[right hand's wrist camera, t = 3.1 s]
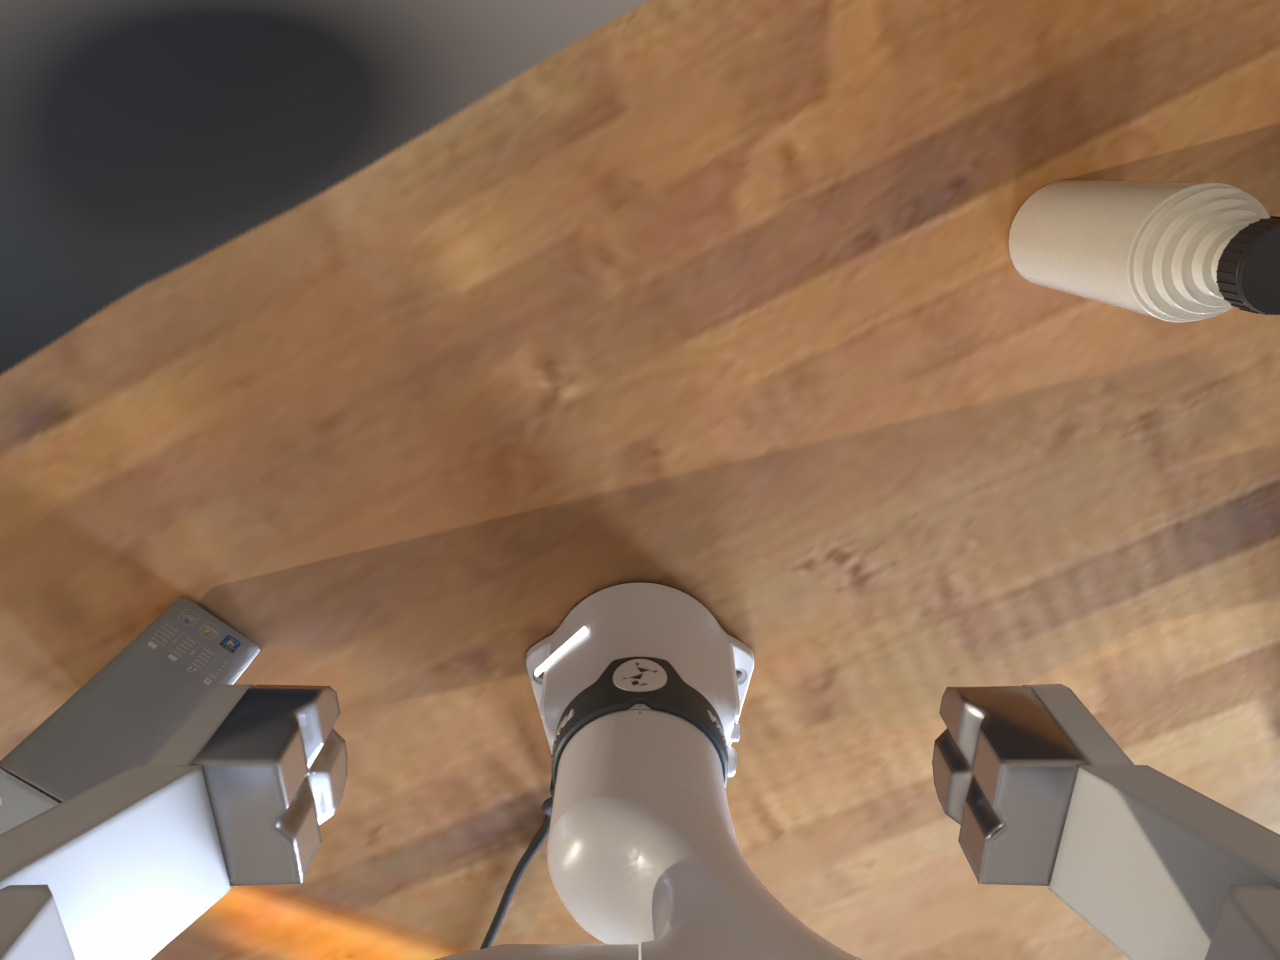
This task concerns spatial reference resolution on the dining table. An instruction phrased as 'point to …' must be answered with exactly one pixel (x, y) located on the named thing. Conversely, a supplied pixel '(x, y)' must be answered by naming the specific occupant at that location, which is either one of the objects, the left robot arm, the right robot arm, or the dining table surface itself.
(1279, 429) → the dining table surface
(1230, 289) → the cap
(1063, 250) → the bottle
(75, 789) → the hard drive box
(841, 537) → the dining table surface
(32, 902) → the right robot arm
